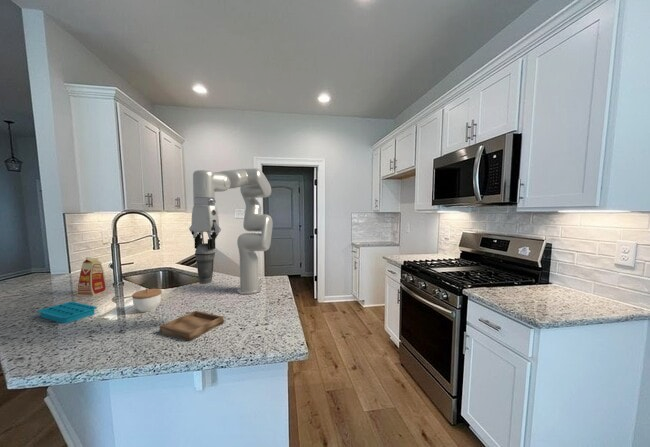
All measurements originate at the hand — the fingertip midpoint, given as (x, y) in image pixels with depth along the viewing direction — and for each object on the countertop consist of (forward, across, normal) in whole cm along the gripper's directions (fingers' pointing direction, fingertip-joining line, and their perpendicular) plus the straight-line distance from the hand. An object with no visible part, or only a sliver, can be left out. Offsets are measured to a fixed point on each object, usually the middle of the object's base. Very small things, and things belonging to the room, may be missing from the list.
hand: (205, 248), depth 99 cm
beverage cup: (+14, 0, 0) cm, 14 cm away
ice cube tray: (+30, +59, +17) cm, 69 cm away
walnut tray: (+29, 0, +6) cm, 30 cm away
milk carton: (+29, +84, -3) cm, 89 cm away
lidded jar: (+29, +34, 0) cm, 45 cm away
